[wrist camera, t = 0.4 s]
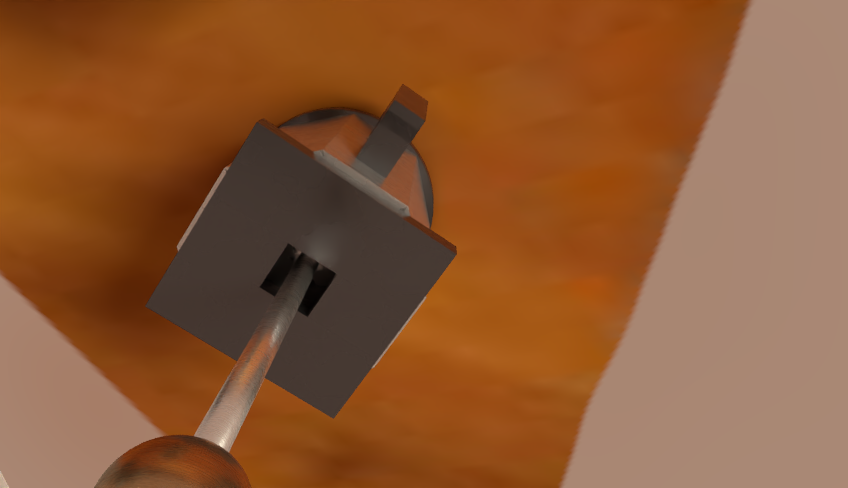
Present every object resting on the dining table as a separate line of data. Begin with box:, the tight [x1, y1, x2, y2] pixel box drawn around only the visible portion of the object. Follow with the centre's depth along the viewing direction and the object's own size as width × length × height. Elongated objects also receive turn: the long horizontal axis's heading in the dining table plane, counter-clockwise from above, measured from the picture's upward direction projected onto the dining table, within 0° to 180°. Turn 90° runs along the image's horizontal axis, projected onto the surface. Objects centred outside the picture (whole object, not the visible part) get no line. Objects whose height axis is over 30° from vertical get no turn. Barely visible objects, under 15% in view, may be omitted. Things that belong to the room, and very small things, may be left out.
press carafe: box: [146, 84, 457, 418], centre depth 35 cm, size 11×14×13 cm
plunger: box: [94, 243, 335, 488], centre depth 23 cm, size 8×8×20 cm
